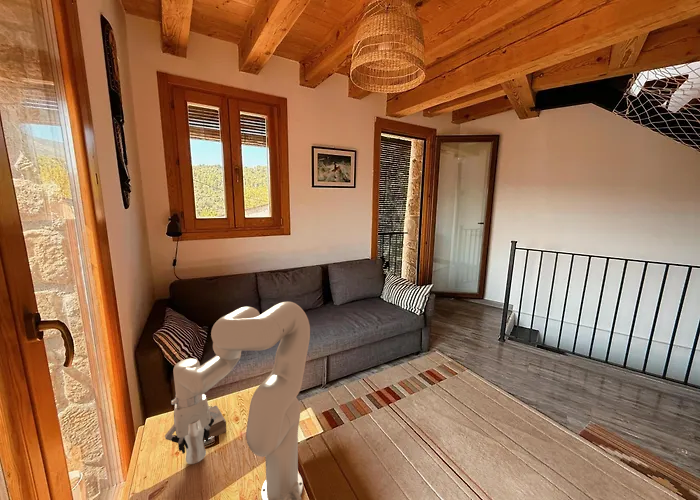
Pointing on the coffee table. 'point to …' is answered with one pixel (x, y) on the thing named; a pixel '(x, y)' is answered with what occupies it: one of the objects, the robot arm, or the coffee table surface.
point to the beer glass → (195, 443)
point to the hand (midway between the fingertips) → (194, 444)
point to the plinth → (217, 423)
